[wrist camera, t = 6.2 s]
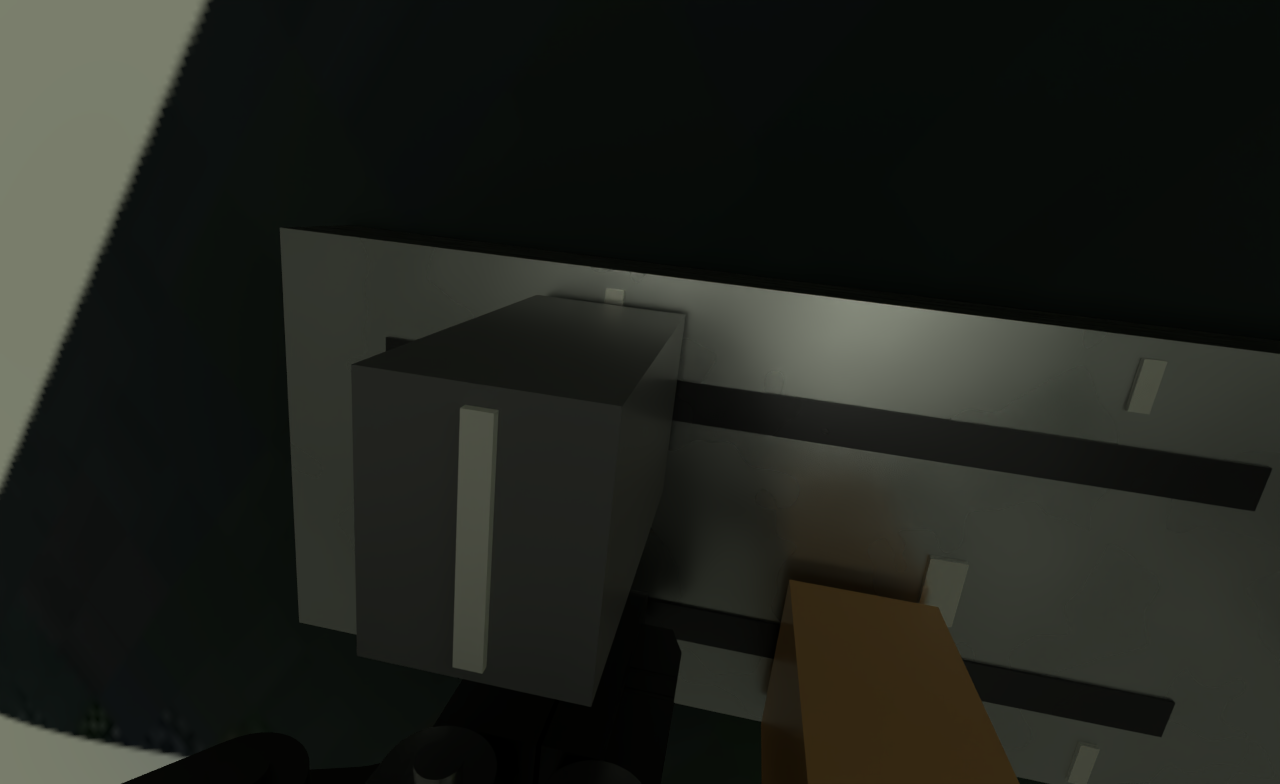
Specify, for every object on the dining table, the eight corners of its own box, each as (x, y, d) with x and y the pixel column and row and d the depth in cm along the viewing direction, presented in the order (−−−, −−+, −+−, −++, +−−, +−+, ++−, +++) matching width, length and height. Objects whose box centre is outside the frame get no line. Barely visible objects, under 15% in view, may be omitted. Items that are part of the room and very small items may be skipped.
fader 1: (535, 294, 10) (344, 366, 6) (685, 314, 10) (618, 409, 5) (525, 467, 11) (350, 662, 6) (662, 491, 11) (588, 715, 6)
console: (348, 225, 13) (275, 227, 11) (1350, 349, 11) (1488, 381, 9) (355, 571, 15) (295, 626, 13) (1184, 738, 13) (1263, 834, 11)
